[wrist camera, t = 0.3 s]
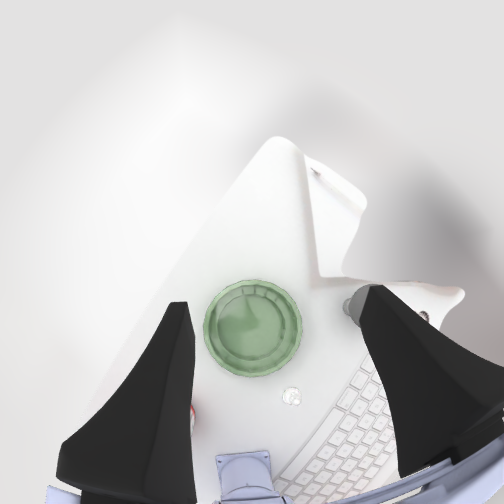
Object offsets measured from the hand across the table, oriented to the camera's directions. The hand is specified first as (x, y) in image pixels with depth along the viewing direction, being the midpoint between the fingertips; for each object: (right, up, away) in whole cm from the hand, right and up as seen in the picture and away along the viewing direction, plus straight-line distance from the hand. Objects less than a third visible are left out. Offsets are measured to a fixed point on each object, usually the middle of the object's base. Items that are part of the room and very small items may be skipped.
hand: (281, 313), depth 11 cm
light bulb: (+13, -6, +30) cm, 34 cm away
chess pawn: (+4, -18, +27) cm, 33 cm away
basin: (-1, -8, +28) cm, 29 cm away
